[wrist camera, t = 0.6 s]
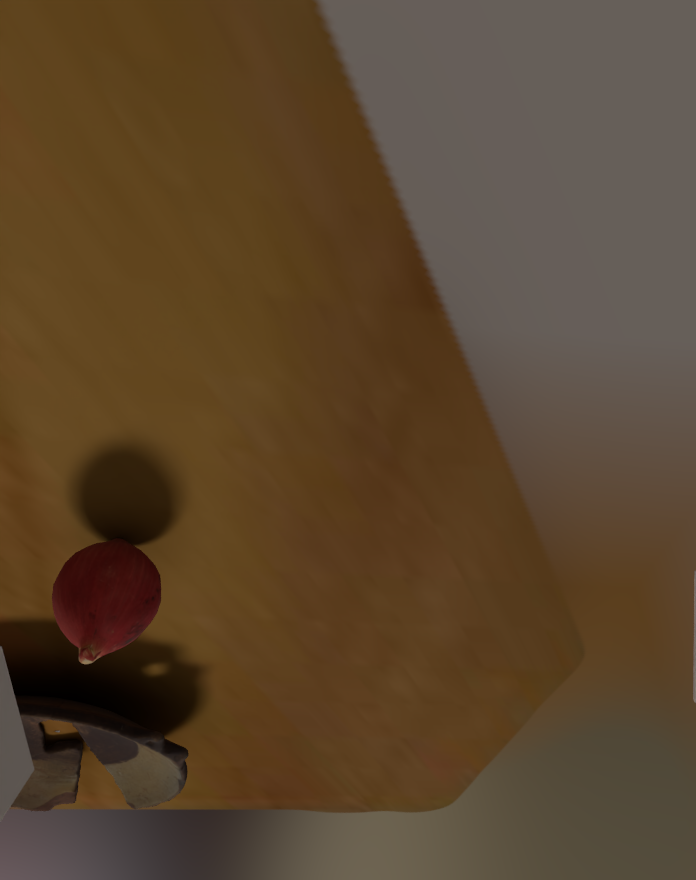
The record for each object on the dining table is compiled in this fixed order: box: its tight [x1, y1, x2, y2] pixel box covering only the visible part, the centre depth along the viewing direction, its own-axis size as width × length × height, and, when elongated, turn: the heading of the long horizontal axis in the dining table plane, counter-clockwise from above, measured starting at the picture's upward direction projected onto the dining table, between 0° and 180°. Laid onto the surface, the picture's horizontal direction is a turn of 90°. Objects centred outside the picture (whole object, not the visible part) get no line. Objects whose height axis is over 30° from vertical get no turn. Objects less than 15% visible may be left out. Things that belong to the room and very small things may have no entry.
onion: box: [52, 538, 161, 664], centre depth 36 cm, size 6×6×8 cm
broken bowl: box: [11, 696, 188, 811], centre depth 53 cm, size 22×30×8 cm
